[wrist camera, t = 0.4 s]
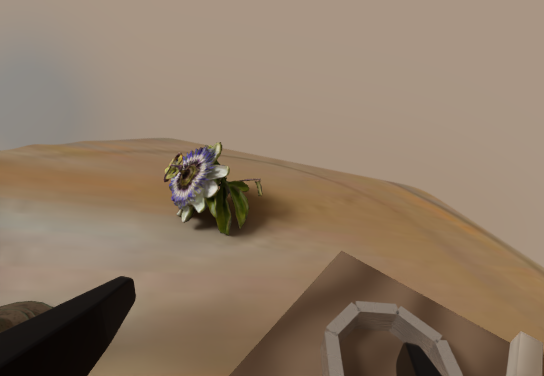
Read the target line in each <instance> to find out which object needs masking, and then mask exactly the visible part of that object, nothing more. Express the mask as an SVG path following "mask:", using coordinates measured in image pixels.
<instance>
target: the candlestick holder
mask: <svg viewBox="0 0 544 376" xmlns="http://www.w3.org/2000/svg"><path fill="white" fill-rule="evenodd" d="M51 308H53V307H51V306H49V305H47V304H45V303H42V302H35V301H25V302H16V303H12V304H8V305H4V306H1V307H0V332H2V331H5V330H7V329H9V328H11V327H13V326H15V325H17V324H20V323H22V322H24V321H26V320H28V319H30V318H32V317H34V316H37V315H39V314H41V313H43V312H45V311H47V310H49V309H51Z"/></svg>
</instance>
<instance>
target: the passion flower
mask: <svg viewBox="0 0 544 376" xmlns="http://www.w3.org/2000/svg"><path fill="white" fill-rule="evenodd" d="M221 151H222V145H221V142H220V143H216V144H215V145H214V146H211V145H210V146H208V145H205V147H204V148H202V147H200V149H199V150H198V149H196V151H195V153H194V152H193V151H191V153H190V154H188V153H187V156H186V157H184V156H183V155H182V154H181V153H178V155H177V156H176V157H175V158H174V159H172V160H171V162H170V165H169V167H168V168H166V169H165V173H166V175H165V177H164V182H167V181H169V179H171V183H170V185H169V188H170V190H171V191H172V199H171V200H172V201H174V204H175V205H176V206H178V208H179V212H178V213H177V215H178V216H182V222H184V223H185V222H187V221H189V220H190V219H191V217H192V216H193V214H194V212H195V209H196V210H197V212H198V213H201V212H203V211H204V210H205V209H206V208H207V207H208V208H209V211H210V212H211V214H212V215H213V216H214V217H215V218H216V222H217V226H218V229H219V231H220V233H224V234H226V235H229V234H230V233H229V229H230V226H231V220H232V214H231V212H230V207H229V203H228V202H227V196H228V194H229V193H230V195H231V198H232V201H233V204H234V207H235V210H236V213H235V214H236V217H237V221H238V224H239V229H241V227H242V225H243V224H244V223H245V220H246V218H247V215H248V210H249V206H248V199H247V198H246V196H245V195H244V194H243V193H242V192H241V191H243V192H247V191H248V190H249V187H248V185H247V184H245V183H244V182H242V181H250V180H258V181H255V183H256V184H257V188H258V196H262V189H261V184H260V179H246V180H240V181H232V182H228V181H226V179H227V178H225V177H226V176H227V175H228V174H229V171H230V169H229V167H227V166H225V165H220V164H219V163H218V161H217V159H218V157H219V156H220V154H221ZM182 159H183V163H181V162H182ZM177 161H178V162H177ZM180 163H181V164H180ZM179 164H180V165H179ZM220 182H221V183H220ZM219 183H220V184H219ZM218 186H220V189H219V187H218ZM218 189H219V191H218ZM217 191H218V192H217Z"/></svg>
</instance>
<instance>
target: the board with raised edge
mask: <svg viewBox="0 0 544 376" xmlns="http://www.w3.org/2000/svg"><path fill="white" fill-rule="evenodd" d="M355 301H363V302H377V303H390V304H396V305H397V308H398V309H399V307H400V306H402V307H403V308H405V309H406V310H407V311H409V312H410V313H412V314H413V315H414V316H416V317H417V318H419V319H420V320H421V321H423V322H424V323H426V324H427V325H428V326H430V327H431V328H433V329H434V330H435V331H437V332H438V333H440V334H441V335H442V337H441V339H440V340H447V342H448V344H449V347H450V349H451V351H452V353H453V355H454V357H455V359H456V362H457V364H458V366H459V368H460V370H461V372H462V374H463V376H542V367H543V343H542V342H540V341H539V340H537V339H535V338H533V337H531V336H529V335H527V334H525V333H523V332H520V333H519V334H518V335H517V336H516V337H515V338H514V339H513V341H512V342H511V343H509V342H507V341H505V340H504V339H502V338H500V337H498V336H496V335H495V334H493V333H491V332H489V331H487V330H485V329H484V328H482V327H480V326H478V325H476V324H474V323H473V322H471V321H469V320H467V319H465V318H464V317H462V316H460V315H458V314H456V313H454V312H453V311H451V310H449V309H447V308H445V307H443V306H442V305H440V304H438V303H436V302H434V301H433V300H431V299H429V298H427V297H425V296H423V295H422V294H420V293H418V292H416V291H414V290H412V289H411V288H409V287H407V286H405V285H403V284H402V283H400V282H398V281H396V280H394V279H392V278H391V277H389V276H387V275H385V274H383V273H381V272H380V271H378V270H376V269H374V268H372V267H371V266H369V265H367V264H365V263H363V262H361V261H360V260H358V259H356V258H354V257H352V256H350V255H349V254H347V253H345V252H343V251H341V252H340V253H339V254H338V255H337V256H336V257H335V258H334V260H333V261H332V262H331V263H330V264H329V265H328V266H327V267H326V268H325V270H324V271H323V272H322V273H321V274H320V275H319V276H318V277H317V279H316V280H315V281H314V282H313V283H312V284H311V285H310V286H309V287H308V289H307V290H306V291H305V292H304V293H303V294H302V295H301V296H300V297H299V299H298V300H297V301H296V302H295V303H294V304H293V305H292V306H291V307H290V309H289V310H288V311H287V312H286V313H285V314H284V315H283V316H282V317H281V319H280V320H279V321H278V322H277V323H276V324H275V325H274V326H273V327H272V329H271V330H270V331H269V332H268V333H267V334H266V335H265V336H264V337H263V339H262V340H261V341H260V342H259V343H258V344H257V345H256V346H255V347H254V349H253V350H252V351H251V352H250V353H249V354H248V355H247V356H246V358H245V359H244V360H243V361H242V362H241V363H240V364H239V365H238V366H237V368H236V369H235V370H234V371H233V372H232V373H231V374H230V375H229V376H323V374H322V363H321V352H320V347H321V344H322V340H323V336H324V332H325V329H326V327H327V326H328V325H329V324H330V323H331V322H332V321H333V320H334V319H335V318H336V317H337V316H338V315H339V314H340V313H341V312H342V311H343V310H344V309H345V308H346V307H347V306H348V305H349V304H350V303H351V302H352V303H353V304H355ZM402 345H403V342H402V341H401V340H400V339H398V338H397V337H396V336H395V335H393V334H392V333H391V332H390V331H379V330H365V329H353V331H352V332H351V333H350V334H349V335H348V336H347V337H346V338H345V339H344V340H343V341H342V342H341V343H340V344H339V346H340V352H341V359H342V366H343V373H344V376H397V375H396V361H397V358H398V355H399V353H400V350H401V348H402Z"/></svg>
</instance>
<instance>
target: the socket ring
mask: <svg viewBox="0 0 544 376" xmlns="http://www.w3.org/2000/svg"><path fill="white" fill-rule="evenodd" d="M353 329H365V330H379V331H390V332H391V333H392V334H393V335H395V336H396V337H397V338H398V339H400V340H401V341H402V342H403V343H405V342H408V343H413V344H417V345H419V346H420V347H421V348H422V349H423V351H424V352H425V353H426V355H427V356H428V357H429V359H430V360H431V361H432V363H433V364H434V365H435V367H436V368H437V369H438V371H439V372H440V373H441V375H442V376H463V374H462V372H461V370H460V368H459V366H458V364H457V362H456V359H455V357H454V355H453V353H452V351H451V349H450V347H449V344H448V342H447V340H440V339H441V337H442V335H441V334H440V333H438V332H437V331H435V330H434V329H433V328H431V327H430V326H428V325H427V324H426V323H424V322H423V321H421V320H420V319H419V318H417V317H416V316H414V315H413V314H412V313H410V312H409V311H407V310H406V309H405V308H403V307H402V306H400V307H399V309H398V308H397V305H396V304H390V303H377V302H363V301H355V304H353V303H352V302H351V303H350V304H349V305H348V306H347V307H346V308H345V309H344V310H343V311H342V312H341V313H340V314H339V315H338V316H337V317H336V318H335V319H334V320H333V321H332V322H331V323H330V324H329V325H328V326H327V327H326V329H325V332H324V336H323V340H322V344H321V347H320V352H321V363H322V374H323V376H344V373H343V366H342V359H341V352H340V346H339V344H340V343H341V342H342V341H343V340H344V339H345V338H346V337H347V336H348V335H349V334H350V333H351V332H352V331H353Z"/></svg>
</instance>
